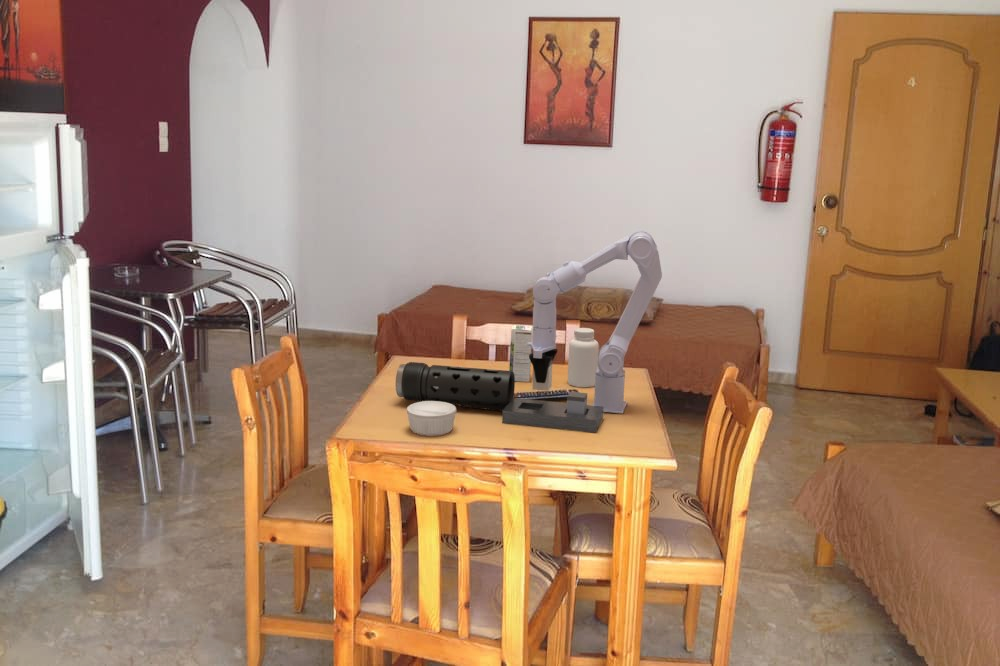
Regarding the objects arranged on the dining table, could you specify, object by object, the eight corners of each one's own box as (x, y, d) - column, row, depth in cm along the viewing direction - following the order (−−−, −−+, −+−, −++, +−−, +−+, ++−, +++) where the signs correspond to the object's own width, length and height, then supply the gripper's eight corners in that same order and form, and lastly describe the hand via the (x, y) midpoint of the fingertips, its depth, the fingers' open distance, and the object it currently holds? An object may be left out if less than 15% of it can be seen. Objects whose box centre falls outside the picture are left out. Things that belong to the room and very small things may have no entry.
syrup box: (509, 376, 262) (510, 324, 258) (530, 376, 261) (532, 325, 258) (508, 381, 256) (510, 329, 253) (530, 382, 256) (532, 329, 253)
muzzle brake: (506, 417, 225) (508, 375, 223) (394, 407, 231) (394, 366, 229) (514, 406, 235) (515, 365, 232) (405, 396, 240) (406, 357, 238)
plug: (535, 385, 238) (536, 358, 236) (551, 386, 237) (552, 359, 235) (532, 389, 234) (533, 361, 233) (548, 390, 233) (549, 363, 232)
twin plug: (569, 420, 224) (570, 391, 223) (586, 421, 223) (587, 393, 222) (566, 425, 220) (567, 396, 219) (583, 426, 220) (584, 397, 218)
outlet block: (513, 409, 231) (513, 397, 230) (603, 418, 226) (603, 406, 225) (502, 422, 221) (502, 410, 220) (595, 432, 215) (596, 420, 215)
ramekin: (411, 439, 208) (411, 416, 207) (402, 424, 218) (402, 402, 217) (461, 436, 211) (461, 413, 210) (449, 421, 221) (450, 399, 220)
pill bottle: (564, 386, 253) (566, 331, 250) (571, 378, 260) (573, 325, 257) (593, 389, 251) (596, 334, 247) (599, 381, 258) (602, 328, 255)
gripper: (534, 319, 240) (533, 371, 243) (521, 331, 226) (520, 386, 229) (562, 321, 238) (560, 373, 241) (550, 333, 224) (548, 388, 227)
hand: (542, 380), depth 235 cm, fingers closed on plug, 4 cm apart
